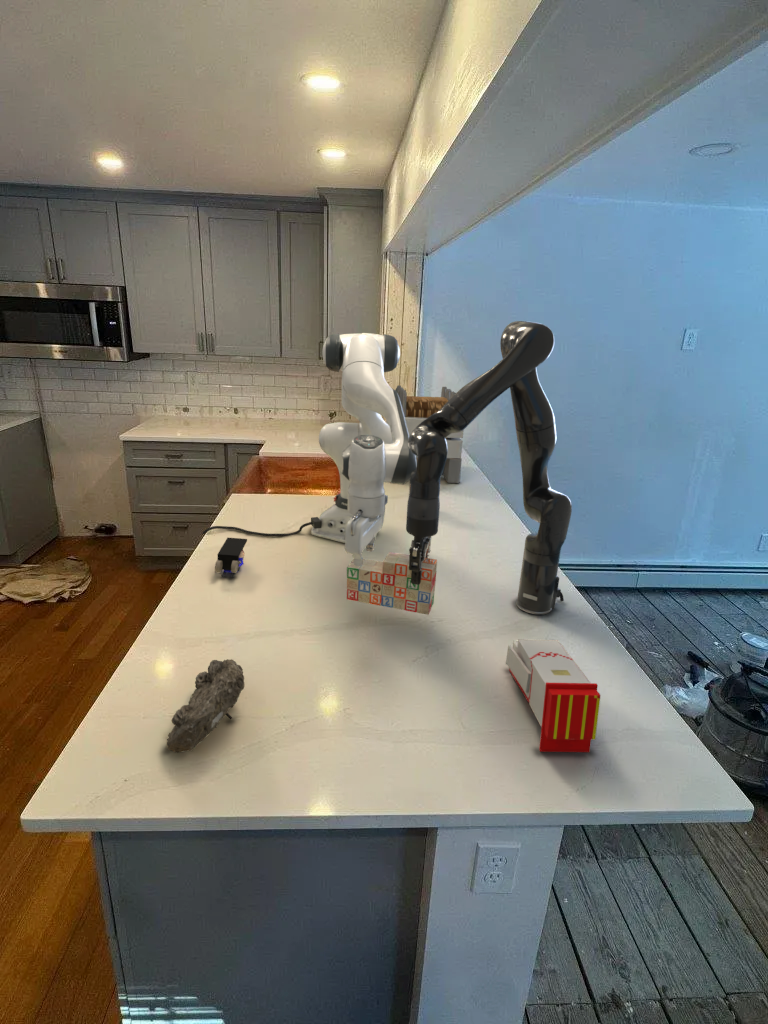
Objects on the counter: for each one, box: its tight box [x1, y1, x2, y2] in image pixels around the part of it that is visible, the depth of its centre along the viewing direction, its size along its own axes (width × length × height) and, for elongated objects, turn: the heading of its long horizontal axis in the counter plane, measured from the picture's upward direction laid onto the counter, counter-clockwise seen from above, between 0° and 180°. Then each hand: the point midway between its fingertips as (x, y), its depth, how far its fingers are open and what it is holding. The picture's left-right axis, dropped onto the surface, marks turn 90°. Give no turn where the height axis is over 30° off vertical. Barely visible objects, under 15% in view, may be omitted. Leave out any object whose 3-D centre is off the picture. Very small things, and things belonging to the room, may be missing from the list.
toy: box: [505, 638, 602, 753], centre depth 114 cm, size 12×13×30 cm
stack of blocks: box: [346, 551, 438, 616], centre depth 140 cm, size 21×6×12 cm, turn 74°
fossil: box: [166, 658, 245, 754], centre depth 106 cm, size 22×10×15 cm
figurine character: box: [214, 537, 248, 578], centre depth 166 cm, size 7×8×15 cm
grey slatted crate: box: [385, 384, 465, 484], centre depth 268 cm, size 34×33×41 cm
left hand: (364, 557), depth 140 cm, fingers open, 8 cm apart
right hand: (418, 577), depth 138 cm, fingers closed on stack of blocks, 6 cm apart
